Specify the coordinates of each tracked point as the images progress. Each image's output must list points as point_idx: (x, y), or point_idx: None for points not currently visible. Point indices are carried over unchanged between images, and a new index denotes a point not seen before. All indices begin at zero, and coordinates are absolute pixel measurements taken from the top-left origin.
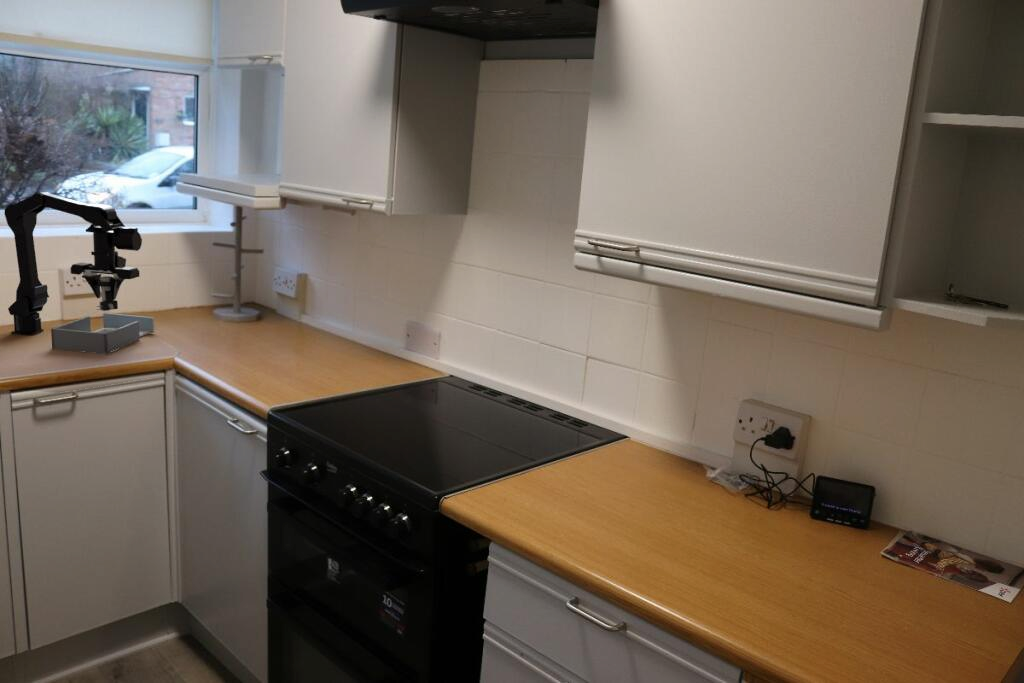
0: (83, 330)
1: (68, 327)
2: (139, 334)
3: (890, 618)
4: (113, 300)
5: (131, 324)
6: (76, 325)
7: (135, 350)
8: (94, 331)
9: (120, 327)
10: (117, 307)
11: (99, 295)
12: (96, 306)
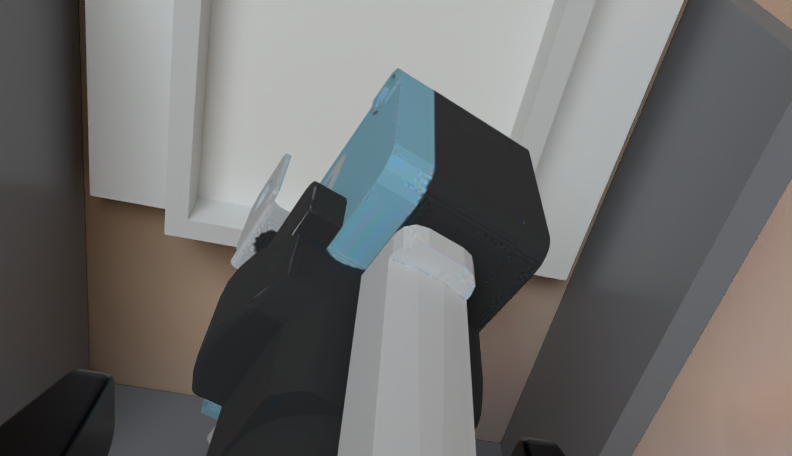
0: (38, 28)
1: (12, 346)
2: (757, 5)
3: None
4: (478, 344)
5: (736, 269)
6: (4, 210)
7: (712, 353)
8: (174, 12)
9: (620, 425)
10: (525, 160)
11: (90, 441)
12: (210, 439)
